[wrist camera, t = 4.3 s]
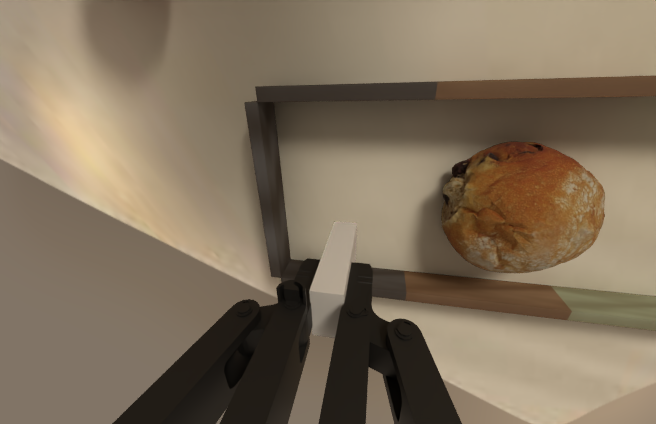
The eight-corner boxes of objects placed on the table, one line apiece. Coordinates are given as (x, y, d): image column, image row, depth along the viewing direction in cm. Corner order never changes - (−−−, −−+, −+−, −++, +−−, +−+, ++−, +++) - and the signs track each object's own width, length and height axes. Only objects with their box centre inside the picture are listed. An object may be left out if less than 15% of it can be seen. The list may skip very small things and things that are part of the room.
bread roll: (454, 235, 27) (497, 308, 21) (405, 184, 21) (448, 266, 16) (558, 179, 23) (646, 253, 17) (534, 97, 17) (655, 167, 11)
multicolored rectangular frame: (260, 86, 21) (242, 87, 18) (919, 68, 14) (1046, 65, 11) (282, 265, 29) (272, 284, 26) (707, 311, 22) (752, 342, 19)
